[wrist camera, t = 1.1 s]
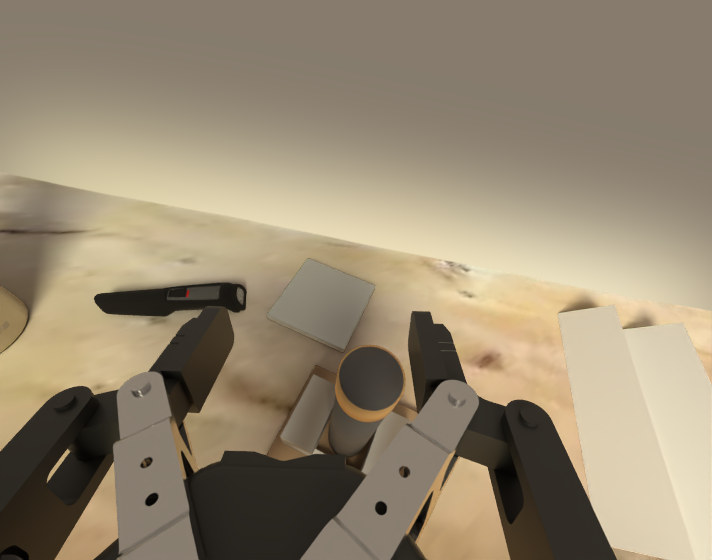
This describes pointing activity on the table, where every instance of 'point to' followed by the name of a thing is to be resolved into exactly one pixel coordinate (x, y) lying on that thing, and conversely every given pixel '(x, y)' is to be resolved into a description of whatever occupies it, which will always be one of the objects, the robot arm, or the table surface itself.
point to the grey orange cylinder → (363, 396)
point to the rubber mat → (322, 304)
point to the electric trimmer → (173, 299)
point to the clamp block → (312, 424)
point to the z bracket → (643, 432)
